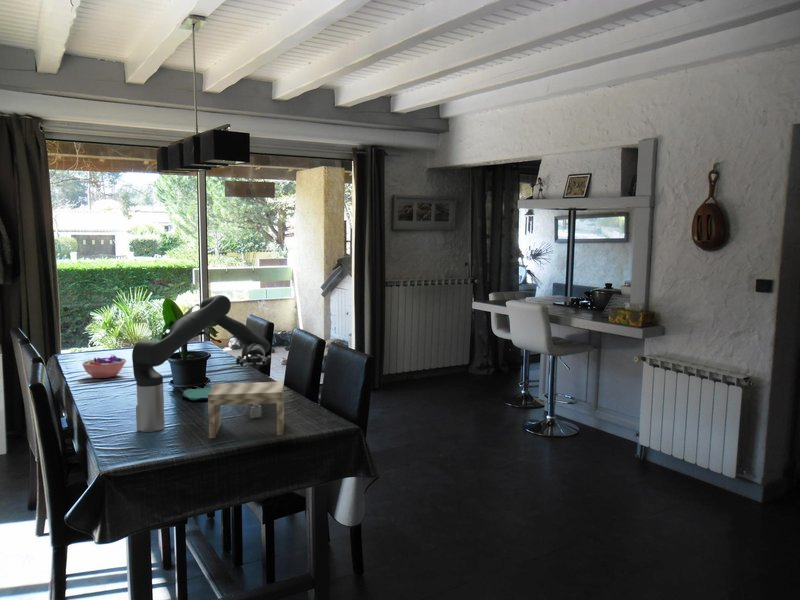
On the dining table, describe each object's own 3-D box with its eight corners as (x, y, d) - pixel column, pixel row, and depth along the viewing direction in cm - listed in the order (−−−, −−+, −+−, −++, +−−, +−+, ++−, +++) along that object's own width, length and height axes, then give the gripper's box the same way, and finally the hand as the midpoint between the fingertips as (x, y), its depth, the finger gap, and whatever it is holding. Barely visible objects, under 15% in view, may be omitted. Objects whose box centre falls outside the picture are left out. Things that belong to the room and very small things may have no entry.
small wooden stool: (209, 438, 220) (207, 394, 219) (215, 424, 236) (214, 383, 234) (282, 434, 224) (282, 392, 223) (284, 421, 240) (283, 381, 238)
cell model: (83, 375, 314) (82, 353, 313) (126, 372, 322) (125, 350, 321) (82, 382, 299) (81, 360, 297) (127, 379, 307) (126, 356, 306)
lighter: (259, 415, 248) (259, 396, 247) (261, 416, 246) (261, 397, 246) (243, 418, 243) (242, 399, 243) (244, 419, 242) (244, 400, 241)
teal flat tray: (188, 405, 263) (188, 399, 263) (173, 389, 289) (173, 384, 288) (234, 398, 274) (234, 393, 274) (215, 384, 299) (215, 379, 299)
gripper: (238, 347, 266) (234, 355, 250) (272, 346, 268) (270, 354, 252) (239, 364, 267) (235, 373, 251) (272, 363, 269) (270, 372, 253)
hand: (252, 363), depth 252 cm, fingers open, 8 cm apart
